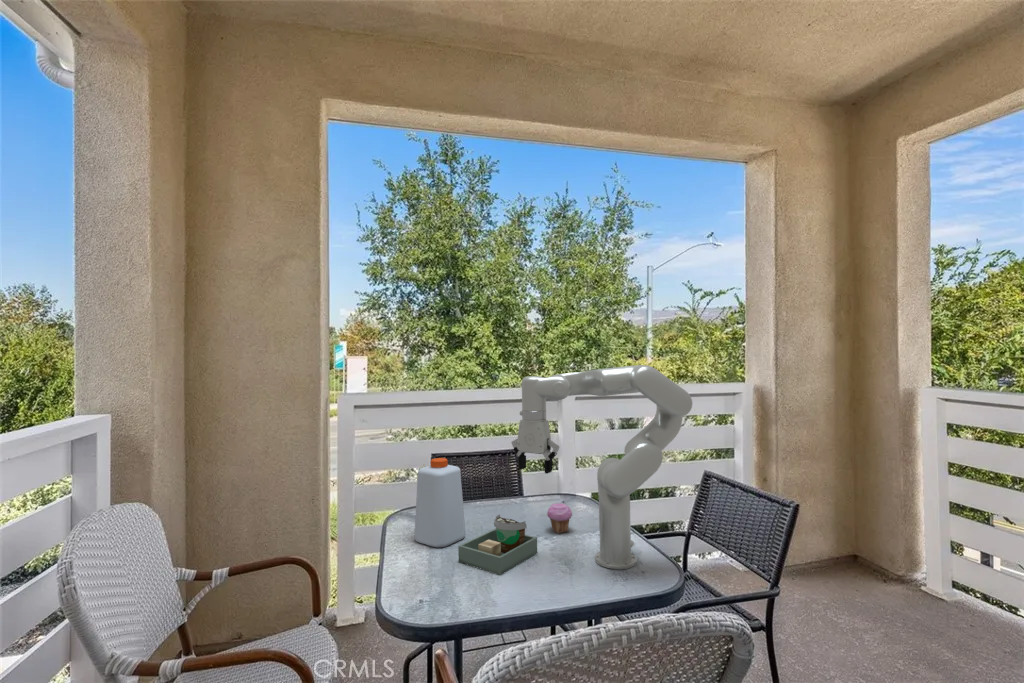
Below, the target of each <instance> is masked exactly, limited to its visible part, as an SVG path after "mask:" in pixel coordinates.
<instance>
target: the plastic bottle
mask: <svg viewBox="0 0 1024 683" xmlns="http://www.w3.org/2000/svg"><path fill="white" fill-rule="evenodd" d="M461 474H462V473H461V468H460V467H459V466H456V465H452V464H449V462H448V459H447V458H446V457H437V458H432V459H430V465H428V466H425V467H422V468H420V469H419V470H418V471H417V482H416V484H417V485H416V503H415V521H414V536H413V537H414V540H415V541H416V542H417V543H419V544H422V545H423V544H424V545H426V546H429V547H433V548H445V547H448V546H450V545H452V544H455V543H457V542H459V541H461V540H463V539H464V538H465V537H466V523H465V512H464V499H463V489H462V488H463V486H462V476H461Z"/></svg>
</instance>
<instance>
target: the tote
mask: <svg viewBox="0 0 1024 683" xmlns="http://www.w3.org/2000/svg"><path fill="white" fill-rule="evenodd" d="M488 539H489V540H492V541H496V542H497V532H496V527H495V528H493V529H492V530H489V531H487V532H485V533H483V534H481V535H478V536H476V537H475V538H472V539H470V540H468V541H466V542H464V543H462V544H459V545H458V562H459V563H461V562H462V563H461V564H464V563H465V564H464V565H467V564H468V565H467V566H470V565H471V567H473V566H475V567H474V568H476V567H478V568H477V569H480V568H481V569H480V570H483V569H484V570H483V571H486V570H487V572H489V571H490V573H492V572H493V574H495V573H496V575H499V576H501V575H503V574H505V573H506V572H508V571H510V570H511V569H513V568H514V566H515V567H516V565H517V566H518V565H520V564H522V563H523V562H525V561H526V559H527V560H528V559H530V558H531V556H532V557H533V556H535V555H537V554H538V537H536V536H533V535H528V534H525V538H524V543H523V544H521V545H520V546H518V547H516V548H514V549H512V550H510V551H509V552H507V553H502V552H501V556H497V555H493V554H490V553H486V552H483V551H479V550H478V544H480V543H482V542H484V541H486V540H488ZM536 553H537V554H536ZM534 554H535V555H534ZM529 557H530V558H529ZM524 560H525V561H524ZM521 562H522V563H521ZM519 563H520V564H519ZM509 569H510V570H509ZM504 572H505V573H504Z"/></svg>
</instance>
